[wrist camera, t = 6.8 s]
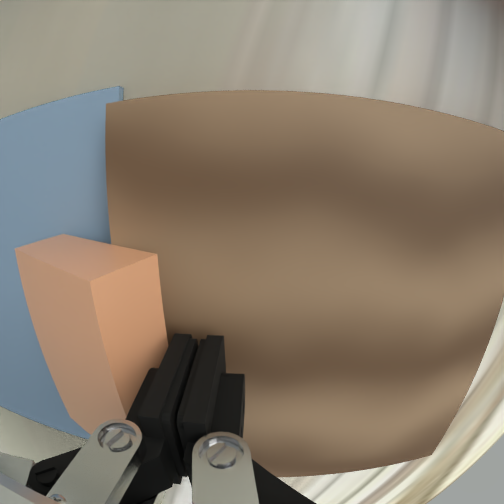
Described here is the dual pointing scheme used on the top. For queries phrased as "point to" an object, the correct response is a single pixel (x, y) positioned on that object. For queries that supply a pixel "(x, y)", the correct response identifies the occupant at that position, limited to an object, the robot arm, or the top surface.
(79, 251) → the block
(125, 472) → the robot arm
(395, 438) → the board
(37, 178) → the mat
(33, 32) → the top surface
